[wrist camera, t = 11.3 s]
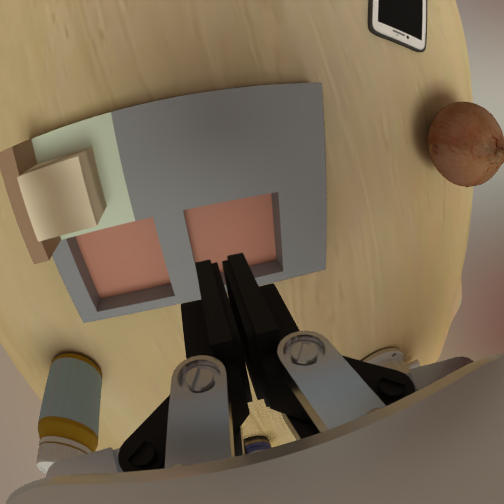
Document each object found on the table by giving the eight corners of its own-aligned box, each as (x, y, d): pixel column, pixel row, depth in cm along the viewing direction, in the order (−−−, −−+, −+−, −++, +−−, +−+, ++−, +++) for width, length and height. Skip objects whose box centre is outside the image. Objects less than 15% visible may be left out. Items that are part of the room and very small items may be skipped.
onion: (460, 100, 28) (525, 116, 20) (456, 170, 33) (514, 198, 24) (409, 92, 26) (482, 105, 18) (406, 174, 31) (471, 207, 23)
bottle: (42, 357, 31) (20, 459, 18) (82, 344, 31) (65, 458, 18) (73, 389, 34) (64, 485, 21) (112, 379, 35) (111, 483, 22)
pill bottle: (253, 450, 53) (267, 496, 44) (230, 447, 50) (244, 496, 41) (274, 437, 52) (292, 484, 43) (252, 433, 49) (269, 484, 40)
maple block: (92, 146, 20) (78, 156, 17) (106, 206, 23) (97, 226, 19) (37, 163, 19) (16, 177, 16) (54, 220, 22) (38, 241, 18)
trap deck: (308, 82, 24) (343, 82, 19) (315, 257, 33) (341, 288, 28) (28, 139, 20) (-4, 153, 15) (87, 307, 29) (78, 347, 24)
